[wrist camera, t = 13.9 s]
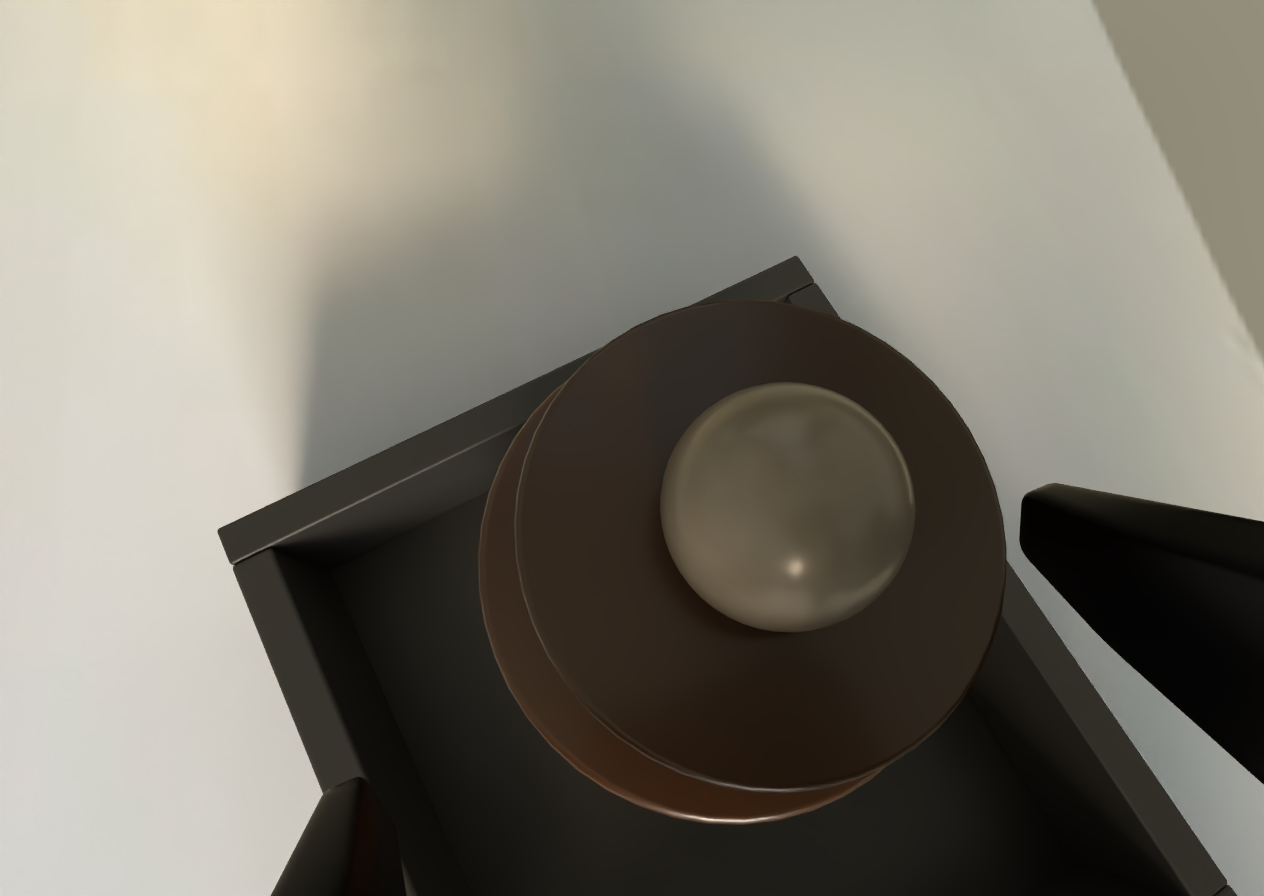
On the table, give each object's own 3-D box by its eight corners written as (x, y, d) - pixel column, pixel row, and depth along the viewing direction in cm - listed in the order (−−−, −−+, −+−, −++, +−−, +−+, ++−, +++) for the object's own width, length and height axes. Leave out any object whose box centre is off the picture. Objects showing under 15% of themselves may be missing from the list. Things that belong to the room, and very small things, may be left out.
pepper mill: (738, 744, 17) (1287, 993, 4) (522, 721, 16) (313, 897, 4) (749, 531, 18) (1166, 184, 5) (552, 508, 18) (483, 92, 5)
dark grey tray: (1106, 869, 17) (1261, 927, 13) (593, 1261, 14) (598, 1482, 10) (756, 331, 20) (797, 253, 17) (293, 559, 18) (214, 529, 14)
